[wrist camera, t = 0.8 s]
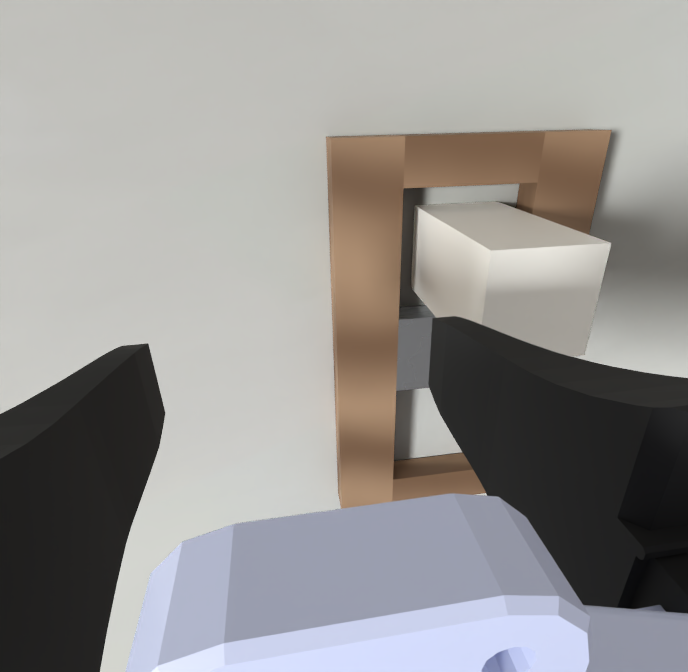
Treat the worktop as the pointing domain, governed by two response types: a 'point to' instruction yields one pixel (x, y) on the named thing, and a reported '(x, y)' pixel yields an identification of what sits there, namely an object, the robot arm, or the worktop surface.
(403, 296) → the worktop surface
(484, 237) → the plug
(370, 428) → the socket panel
